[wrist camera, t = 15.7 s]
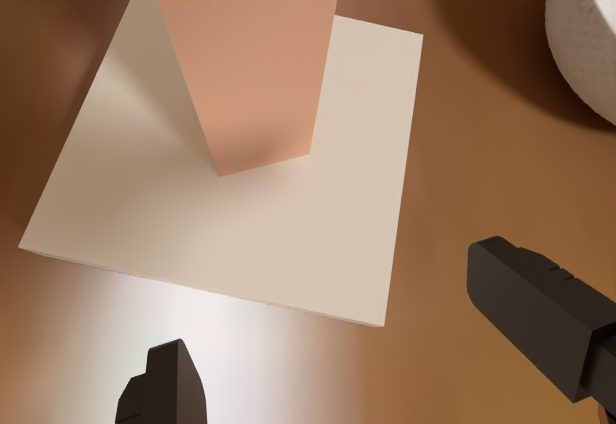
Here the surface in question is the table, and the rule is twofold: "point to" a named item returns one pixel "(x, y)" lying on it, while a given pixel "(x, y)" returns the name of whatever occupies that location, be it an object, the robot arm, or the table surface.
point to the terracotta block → (252, 74)
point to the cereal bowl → (585, 49)
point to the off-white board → (237, 179)
